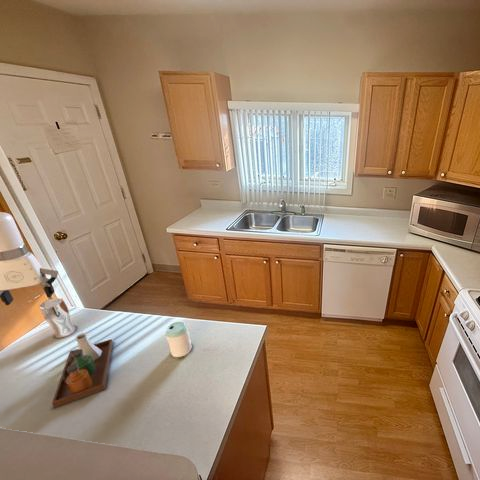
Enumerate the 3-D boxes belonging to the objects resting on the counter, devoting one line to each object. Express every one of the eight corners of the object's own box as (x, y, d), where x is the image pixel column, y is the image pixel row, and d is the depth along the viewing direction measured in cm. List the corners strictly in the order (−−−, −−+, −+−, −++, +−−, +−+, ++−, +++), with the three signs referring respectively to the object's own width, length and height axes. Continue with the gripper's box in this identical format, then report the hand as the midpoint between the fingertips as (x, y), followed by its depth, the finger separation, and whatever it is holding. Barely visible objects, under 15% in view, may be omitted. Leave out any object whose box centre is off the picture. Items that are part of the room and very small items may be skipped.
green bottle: (74, 381, 84) (64, 361, 80) (78, 369, 88) (68, 349, 84) (94, 374, 87) (85, 354, 83) (97, 363, 91) (88, 344, 87)
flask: (101, 345, 98) (92, 325, 94) (104, 357, 93) (95, 336, 89) (76, 356, 93) (66, 335, 89) (77, 369, 88) (67, 347, 84)
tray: (105, 389, 83) (103, 384, 82) (54, 407, 77) (51, 403, 76) (113, 342, 100) (111, 339, 99) (72, 355, 94) (70, 351, 93)
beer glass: (66, 339, 101) (51, 309, 95) (48, 338, 101) (32, 308, 95) (81, 326, 107) (68, 297, 101) (65, 325, 107) (51, 296, 101)
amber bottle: (69, 397, 79) (58, 377, 75) (73, 384, 83) (63, 364, 79) (91, 390, 82) (81, 369, 78) (94, 377, 86) (84, 357, 82)
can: (174, 361, 93) (167, 337, 89) (169, 349, 98) (162, 325, 93) (194, 351, 98) (189, 327, 93) (188, 340, 102) (183, 317, 98)
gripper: (-43, 263, 70) (-14, 313, 77) (43, 252, 79) (62, 298, 85) (-27, 252, 76) (-2, 299, 83) (51, 243, 85) (68, 286, 91)
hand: (31, 298), depth 84 cm, fingers open, 9 cm apart
